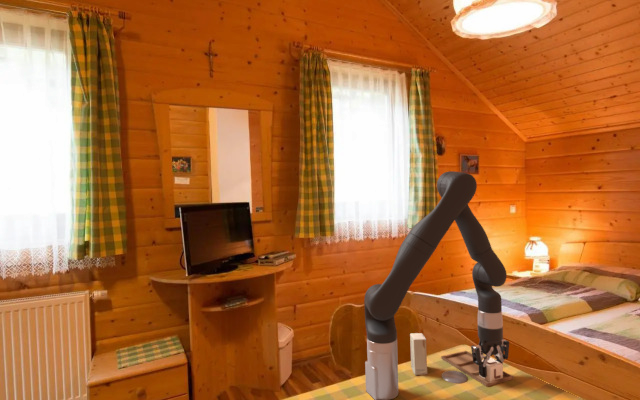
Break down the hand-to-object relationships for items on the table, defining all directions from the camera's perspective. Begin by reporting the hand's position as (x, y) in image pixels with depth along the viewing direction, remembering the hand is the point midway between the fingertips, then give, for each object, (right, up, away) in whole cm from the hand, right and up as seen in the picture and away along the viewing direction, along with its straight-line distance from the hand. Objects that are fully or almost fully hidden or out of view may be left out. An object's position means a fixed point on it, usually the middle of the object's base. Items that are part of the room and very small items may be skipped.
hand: (491, 374), depth 129 cm
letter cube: (0, -1, 0) cm, 1 cm away
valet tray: (-2, -1, +7) cm, 7 cm away
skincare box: (-22, -2, +7) cm, 23 cm away
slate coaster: (-12, -2, +1) cm, 12 cm away
